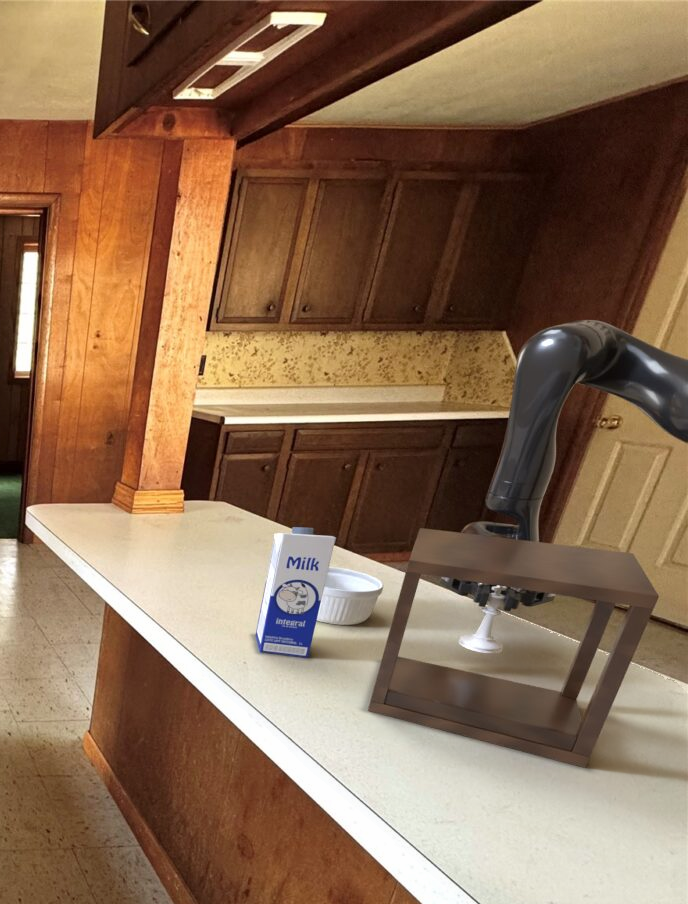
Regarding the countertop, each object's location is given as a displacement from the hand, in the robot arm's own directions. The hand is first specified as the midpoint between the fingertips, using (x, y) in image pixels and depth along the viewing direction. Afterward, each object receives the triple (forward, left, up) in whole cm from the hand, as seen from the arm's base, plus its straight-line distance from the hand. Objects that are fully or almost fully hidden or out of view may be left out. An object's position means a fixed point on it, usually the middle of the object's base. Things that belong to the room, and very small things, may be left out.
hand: (496, 602), depth 92 cm
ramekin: (+20, -16, -12) cm, 28 cm away
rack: (0, +10, -12) cm, 16 cm away
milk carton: (+24, +4, -12) cm, 27 cm away
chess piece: (0, -3, -8) cm, 9 cm away
